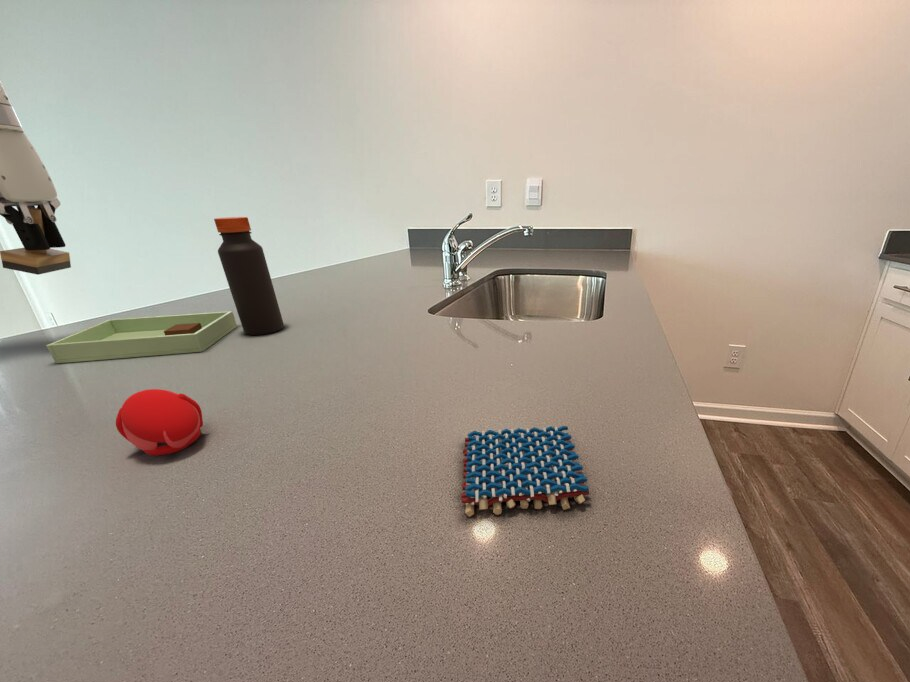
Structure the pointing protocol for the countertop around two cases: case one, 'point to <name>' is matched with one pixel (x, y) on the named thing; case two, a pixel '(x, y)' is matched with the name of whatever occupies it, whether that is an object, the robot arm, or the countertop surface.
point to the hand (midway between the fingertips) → (46, 247)
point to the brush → (35, 255)
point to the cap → (159, 421)
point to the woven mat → (521, 469)
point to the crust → (183, 329)
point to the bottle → (248, 277)
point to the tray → (141, 337)
